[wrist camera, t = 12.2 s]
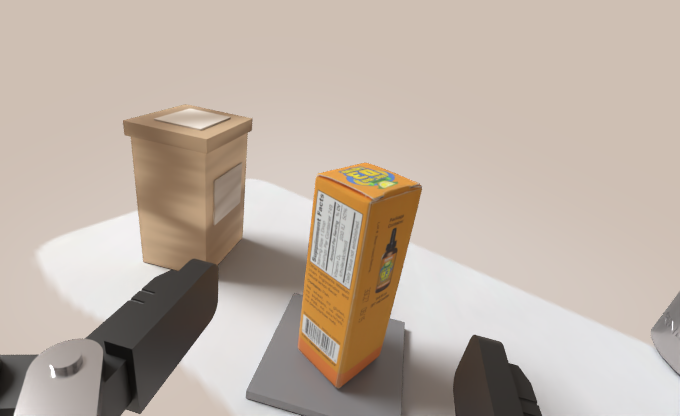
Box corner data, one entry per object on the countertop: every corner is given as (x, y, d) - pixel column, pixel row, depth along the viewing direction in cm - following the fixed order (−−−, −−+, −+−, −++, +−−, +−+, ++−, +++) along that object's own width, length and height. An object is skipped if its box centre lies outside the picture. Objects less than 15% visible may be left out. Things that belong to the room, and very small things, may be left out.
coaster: (402, 328, 22) (404, 322, 21) (397, 443, 15) (400, 436, 15) (293, 299, 22) (294, 293, 22) (245, 398, 16) (246, 390, 16)
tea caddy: (246, 236, 28) (252, 117, 24) (207, 280, 23) (206, 137, 18) (189, 222, 28) (185, 102, 24) (138, 262, 23) (122, 118, 19)
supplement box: (335, 319, 21) (369, 157, 16) (380, 358, 19) (433, 186, 14) (289, 346, 18) (315, 166, 14) (335, 394, 16) (381, 202, 12)
